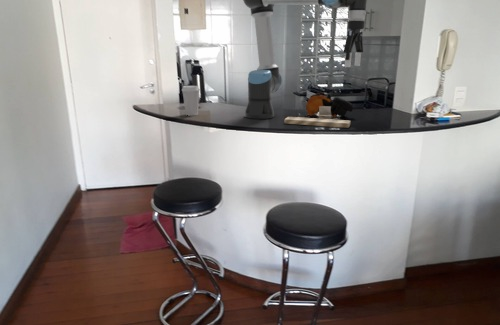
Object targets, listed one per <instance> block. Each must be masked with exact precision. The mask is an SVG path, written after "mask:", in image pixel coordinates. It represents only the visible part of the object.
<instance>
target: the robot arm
mask: <svg viewBox="0 0 500 325" xmlns="http://www.w3.org/2000/svg"><path fill="white" fill-rule="evenodd" d="M367 2H368V0H243V3H244V5H245V6H246V7H248V9H250V14H251V15H250V16H251V17H252V18H253V19H254V25H255V26H254V27H255V37H256V45H257V54H258V55H257V56H258V63H259V64H258V66H257V68H256V69H254V70H251V71H249V73H248V76H247V77H248V78H247V82H248V84H247V88H248V92H247V93H248V95H247V96H248V102H247V104H246V108H245V112H244V117H245V118H248V119H253V120H265V119H267V120H268V119H272V118H275V111H274V108H273V104H272V94H273V93H275V92H277V91H278V90H280V89H281V87H282V85H283V77H282V74H281V73H280V69H279V65H277V64H276V58H275V56H276V55H275V48H274V46H275V45H274V38H273V37H274V36H273V25H272V16H273V14H274V7H275V6H274V5H289V6H290V5H292V6H293V5H297V6H301V5H303V6H305V5H308V6H310V5H311V6H324V7H325V8H329V9H330V8H331V9H333V8H349V9H348V17H347V19H348V22H347V29H348V31H347V37H346V40H345V45H344V49H343V54H345V57H344V68H351V67H352V66H351V65H352V64H351V63H352V55H353V54H352V51H353V47H355V54H354V65H353V67H354V66H355V67H360V66H361V59H362V53H364V43H363V42H364V40H363V33H364V32H363V31H361V30H364V29H365V24H366V22H365V19H366V15H367V12H366V9H367Z"/></svg>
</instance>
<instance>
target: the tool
mask: <svg viewBox="0 0 500 325" xmlns="http://www.w3.org/2000/svg"><path fill="white" fill-rule="evenodd" d="M354 105H355V104H354V102H349V101H347V100H345V99H343V98H342V97H339V96H334V97H333V99H332V94H331V93H329V92H328V95H326V96H325V95H323V94H321V93H320V92H318V93H314V94H313V95H310V97H309V99H308V100H307V101H306V105H305V108H306V113H307V114H308V116H310V117H312V116H314V115H317V114H319V106H331V112H330V113H331V117H333V118H336V117H337V116H339V117H340V116H341V117H343V118H344V117H346V116H345V115H346V114H347V112H353V110H354Z"/></svg>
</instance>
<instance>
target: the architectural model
mask: <svg viewBox="0 0 500 325" xmlns="http://www.w3.org/2000/svg"><path fill="white" fill-rule="evenodd" d="M330 112H331V106H319V112H318V113H316V116H317V117H318V119H332V116H331V113H330Z"/></svg>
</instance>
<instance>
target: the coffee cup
mask: <svg viewBox="0 0 500 325" xmlns="http://www.w3.org/2000/svg"><path fill="white" fill-rule="evenodd" d="M200 90H201V89H200V87H199V86H198V85H184V86H182V89H181V91H182V96H183V104H184V105H183V106H184V112H185V116H187V115H188V116H187V117H192V116H198V115H199V100H200V97H199V96H200V94H199V93H200Z"/></svg>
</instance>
